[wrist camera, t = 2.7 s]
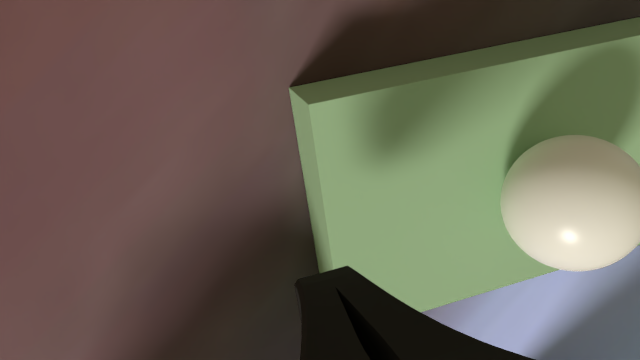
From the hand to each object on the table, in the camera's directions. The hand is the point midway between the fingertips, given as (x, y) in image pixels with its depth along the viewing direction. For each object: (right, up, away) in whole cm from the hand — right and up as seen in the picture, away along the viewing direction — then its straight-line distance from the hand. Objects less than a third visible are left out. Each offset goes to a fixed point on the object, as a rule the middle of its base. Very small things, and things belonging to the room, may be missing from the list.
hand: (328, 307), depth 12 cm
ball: (+7, +2, +3) cm, 8 cm away
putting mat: (+9, +5, +8) cm, 13 cm away
